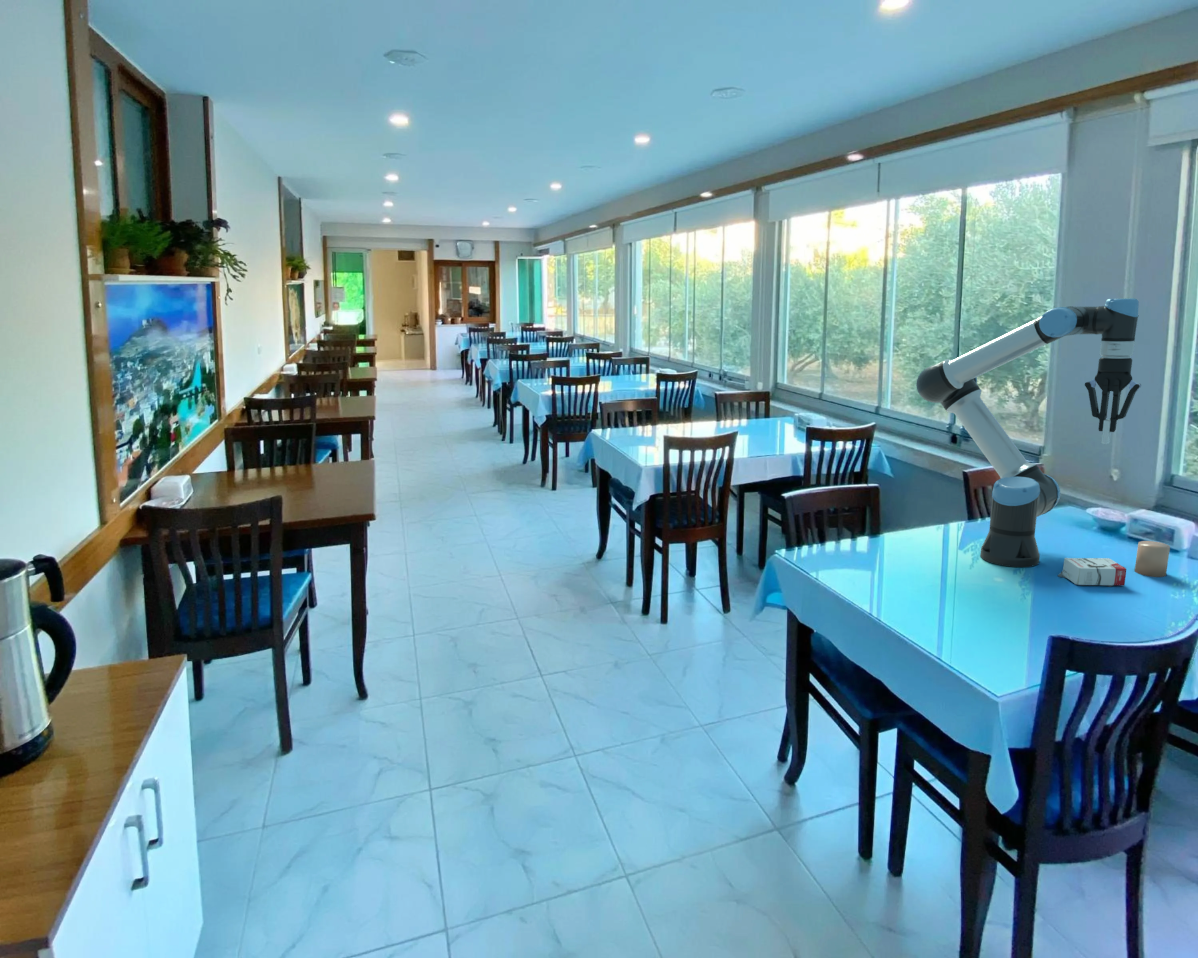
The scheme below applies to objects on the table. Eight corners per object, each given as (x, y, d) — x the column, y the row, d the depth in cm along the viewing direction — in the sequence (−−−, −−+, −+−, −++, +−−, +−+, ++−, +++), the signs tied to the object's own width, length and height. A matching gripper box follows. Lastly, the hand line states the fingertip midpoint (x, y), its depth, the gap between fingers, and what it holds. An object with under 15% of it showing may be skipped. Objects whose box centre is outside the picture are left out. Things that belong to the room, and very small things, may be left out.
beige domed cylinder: (1132, 573, 209) (1135, 545, 208) (1137, 566, 214) (1141, 539, 212) (1163, 578, 205) (1167, 550, 203) (1168, 572, 209) (1172, 544, 208)
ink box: (1127, 568, 198) (1079, 568, 199) (1125, 586, 199) (1077, 585, 201) (1109, 557, 207) (1063, 557, 208) (1106, 574, 208) (1061, 574, 209)
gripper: (1084, 357, 208) (1074, 442, 213) (1142, 358, 199) (1130, 447, 204) (1091, 355, 213) (1081, 439, 219) (1147, 356, 205) (1136, 443, 210)
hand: (1105, 443), depth 211 cm, fingers closed
